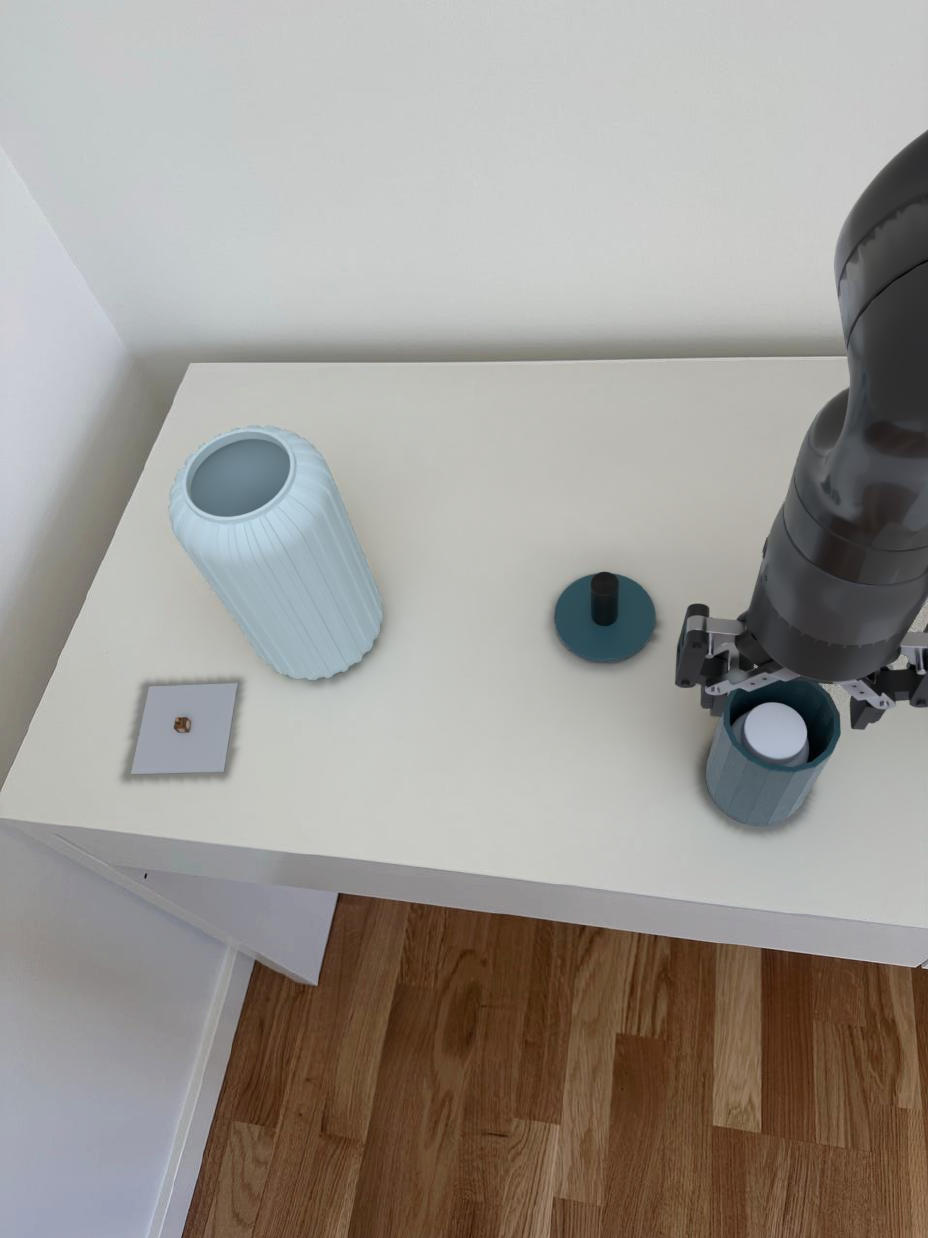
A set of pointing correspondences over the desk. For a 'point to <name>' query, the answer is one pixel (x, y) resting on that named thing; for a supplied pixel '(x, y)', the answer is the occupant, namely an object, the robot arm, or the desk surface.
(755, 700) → the pot
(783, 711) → the pill bottle
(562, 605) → the lid
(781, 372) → the desk surface
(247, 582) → the vase
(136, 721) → the desk surface
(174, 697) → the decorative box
